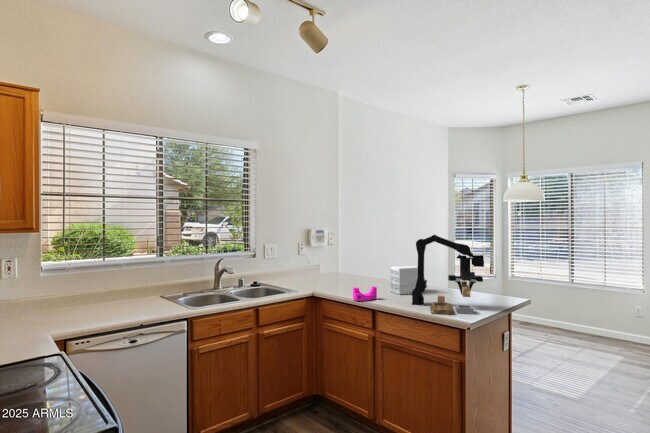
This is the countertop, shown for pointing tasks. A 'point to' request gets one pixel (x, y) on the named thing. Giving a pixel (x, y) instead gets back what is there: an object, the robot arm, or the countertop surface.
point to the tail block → (441, 298)
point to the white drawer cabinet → (403, 279)
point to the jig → (441, 308)
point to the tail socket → (464, 309)
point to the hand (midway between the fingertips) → (465, 293)
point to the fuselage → (465, 289)
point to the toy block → (362, 297)
